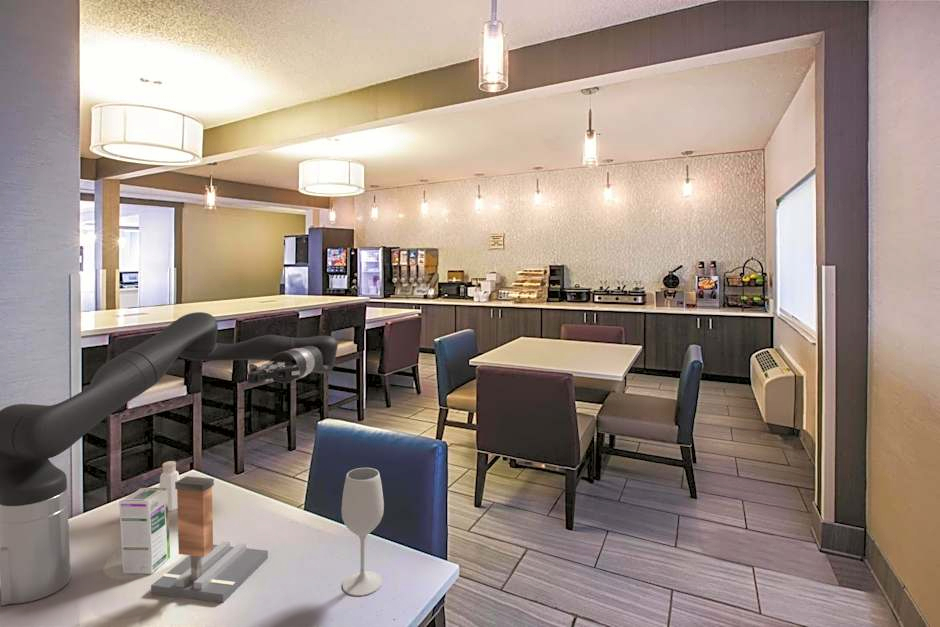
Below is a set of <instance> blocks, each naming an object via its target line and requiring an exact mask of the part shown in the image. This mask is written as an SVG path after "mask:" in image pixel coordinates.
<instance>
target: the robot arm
mask: <svg viewBox="0 0 940 627" xmlns="http://www.w3.org/2000/svg"><path fill="white" fill-rule="evenodd" d="M218 325H219V324H218V321H217V319H216V318H215V316H213V315H212V314H210V313H208V312H200V311H199V312H190V313H187V314H184V315H183V316H181V317H179V318H177V319H175V320H174V321H173V322H172V323H170V324H169V325H168V326H166V327H165V328H163V329H162V330H161V331H160V332H158V333H156V334H154V335H153V336H151V337H150V338H148V339H146V340H144V341H143V342H141V343H139V344H138V345H136V346H134V347H132V348H131V349H128V350H127V351H124V352H123V353H120V354H119V355H117V356H115V357H113V358H112V359H110V360H108V361H107V362H105V363H104V364H102V365H101V366H100V367H99V368H98V370H97V371H96V372H95V373H94V375H93V377H92V379H91V382H90V383H89V385H88V386H87V387H86V388H85V389H83V390H81V391H80V392H78V393H77V394H75V395H73V396H70V397H69V398H67V399H65V400H63V401H61V402H58V403H56V404H51V405H46V404H45V405H44V404H30V403H19V404H18V403H17V404H15V403H14V404H11V405H9V406H6V407H4V408H2V409H1V410H0V606H6V605H9V604H25V603H29V602H33V601H36V600H41V599H43V598H46V597H48V596H50V595H52V594H55V593H56V592H58V591H60V590H61V589H63V588H64V587H65V586H66V585H68V583H69V581H70V580H71V578H72V577H71V576H72V575H71V571H72V570H71V557H70V556H71V555H70V551H71V550H70V530H69V527H70V526H69V504H68V501H69V500H68V481H67V480H68V479H67V478H68V477H67V474H66V473H65V471H63V470H62V469H60V468H59V467H57V466H56V465H54V464H53V463H52V462H51V461H50V460H49V459H51V458H52V459H53V458H55V457H56V456H57V457H58V456H59V455H60V454H62V453H64V452H65V451H66V450H68V449H69V448H71V447H72V446H73V445H74V444H76V443H77V442H78V441H79V440H80V439H81V438H83V436H85V435H86V434H87V433H88V432H89V431H91V430H92V429H94V427H96V426H97V425H98V424H100V423H101V422H102V421H103V420H104V419H106V418H108V417H109V416H110V415H112V414H113V413H114V412H116V411H118V410H119V409H120V408H122V407H123V406H126V405H127V404H128V403H129V402H130V401H132V400H134V399H135V398H137V397H139V396H140V395H142V394H143V393H144V392H146V391H147V390H149V389H151V388H152V387H154V386H155V385H156V384H158V383H159V381H160V380H161V379H162V378H163V377H164V376H166V374H167V372H168V371H169V369H170V368H171V367H172V365H173V363H174V362H175V360H177V358H178V357H180V358H182V359H186V360H191V361H202V362H203V361H204V362H205V361H211V362H212V361H252V360H254V361H267V363H262V364H261V366H258V365H257V364H254V363H250V364H248V374H247V382H248V384H254V385H256V384H258V383H261V382H270V381H272V382H277V383H280V384H289V383H292V382H295V381H297V380H299V379H302V378H305V377H306V376H308V375H309V374H312V373H317V374H321V375H322V374H324V375H325V374H328V373H330V372H332V370H333V369H334V366H335V362H336V358H337V352H338V347H339V345H338V341H337V339H336V338H335V337H333V336H329V335H317V336H310V337H293V336H292V337H289V336H283V335H276V334H265V335H262V336H257V337H253V338H251V339H248V340H244V341H241V342H236V343H221V342H220V343H219V342H217V338H218V332H219V331H218V330H219V329H218V328H219V326H218Z"/></svg>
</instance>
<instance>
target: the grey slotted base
mask: <svg viewBox="0 0 940 627" xmlns="http://www.w3.org/2000/svg"><path fill="white" fill-rule="evenodd" d="M268 558H269V551H268V550H265V549H257V548H256V549H255V548H248V547H247V543H240V542H239V543H237V544H236V545H235V546H231V542H230V541H222V542H220V543H219V544H213V550H212V551H211V552H210V553H209V554H207V555H206V556H205V557H202V575H201V576H200V577H199V578H198V579H197V580H196V581H191V555H187V557H185V558H184V559H183V560H182V561H180V562H179V563H177V565H175V566H174V567H173V568H171V569H170V570H169V571H168V572H166V573H164V574H163V575H162V576H161V577H160V578H158V579H157V580H156V581H155V582H153V583H152V584H151V586H150V590H151V592H150V593H151V594H152V595H153V594H155V595H160V596H161V595H162V596H168V597H169V596H170V597H176V598H177V597H178V598H183V599H184V598H185V599H192V600H199V601H200V600H201V601H207V602H214V603H215V602H216V603H222V604H223V603H225V602H226V601H227V599H228V598H230V596H232V594H233V593H235V592H236V590H238V589H239V588H240V586H241V585H243V583H245V581H247V579H248V578H249V577H250V576H251V575H253V573H255V572H256V570H258V568H260V567H261V566H262V565H263V563H264V562H266V560H268Z"/></svg>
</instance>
